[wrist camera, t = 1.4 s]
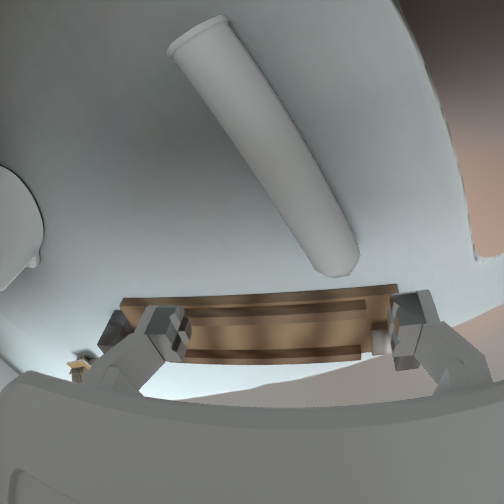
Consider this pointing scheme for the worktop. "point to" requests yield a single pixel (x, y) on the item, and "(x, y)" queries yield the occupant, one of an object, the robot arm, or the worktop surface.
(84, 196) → the worktop surface
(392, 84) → the worktop surface
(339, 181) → the worktop surface
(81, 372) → the architectural model
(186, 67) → the tube
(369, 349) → the shaft bed
